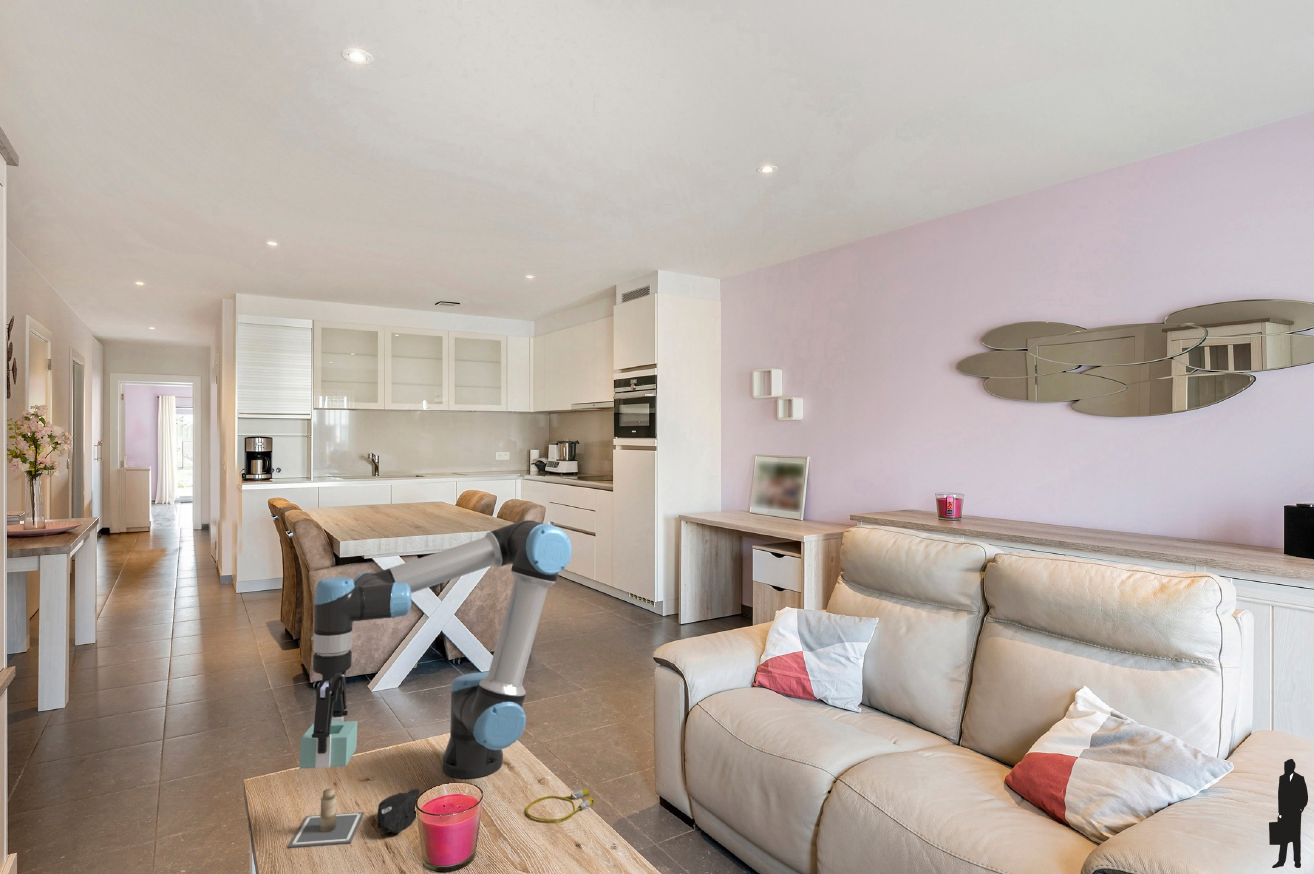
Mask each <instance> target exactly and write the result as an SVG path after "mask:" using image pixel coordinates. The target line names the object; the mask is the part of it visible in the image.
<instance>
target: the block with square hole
mask: <svg viewBox="0 0 1314 874" xmlns="http://www.w3.org/2000/svg"><path fill="white" fill-rule="evenodd" d="M313 731H314V722H313V723H312V724H311V726H310V727H309V728H308V729H307V731H305V733H304V734H303V736H302V737H301V738H300V743H299V744H300V746H299V749H300V750H299V769H316V768H315V763H316V738H312V734H313ZM330 735H331V759H330V767H329V768H336V767H337V768H339V767H341V768H342V767H347V765H348V764H349V762H350V760H351V759H352V757H353V755H354V753H355V751H356V750H357V744H358V743H357V742H358V741H357V740H358V720H348V721H344V720H343V722H331V728H330Z"/></svg>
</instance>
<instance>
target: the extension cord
mask: <svg viewBox="0 0 1314 874" xmlns="http://www.w3.org/2000/svg"><path fill="white" fill-rule="evenodd" d="M572 794H574V795H575V796H576V797H577V798H579V799H584V798H585V797H588V796H590V792H589V789H588V788H586V789H580V790H579V789H578V790H577V791H574V792H572V793H571V794H570V795H568V796H559V795H558V796H557V795H548V796H547V795H545V796H543V797H539V798H538V799H535V800H533V801H531V802H529V804H527V805H526V807H525V813H526V816H527V817H528V818H529V819H530V820H531V821H535V822H538V823H546V824H547V823H549V824H551V823H552V824H557V823H558V824H559V823H563V822H567V821H568V820H570V819H571V818H572V817H573V816H574V814H575V813H576V812H578V811H584V810H587V808H586V807H588V808H590V807H592V806H593V805H594V804H595V803H596V802H595V800H594V798H593V797H592V796H590V797H589V798H586V799H584V800H582V802H581V803H580V804H579V805H578V807H577V808H576V806H575V802H574V801H573V800H577V799H576V798H575V797H574V796H573V795H572ZM551 798H555V799H561V800H565V801H568V802H570V803H571V804H572V807H573V810H572V811H571V812H570V813H569V814H568V815H564V816H563V817H560V818H542V817H538V816H534V815H532V814H531V813H530V812H529V809H530V808H531V807H532V806H533V805H534V804H537V803H538V802H542V801H546V800H548V799H551ZM571 799H572V800H571ZM582 803H583V804H585V806H586V807H585V806H584V805H583V804H582Z"/></svg>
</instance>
